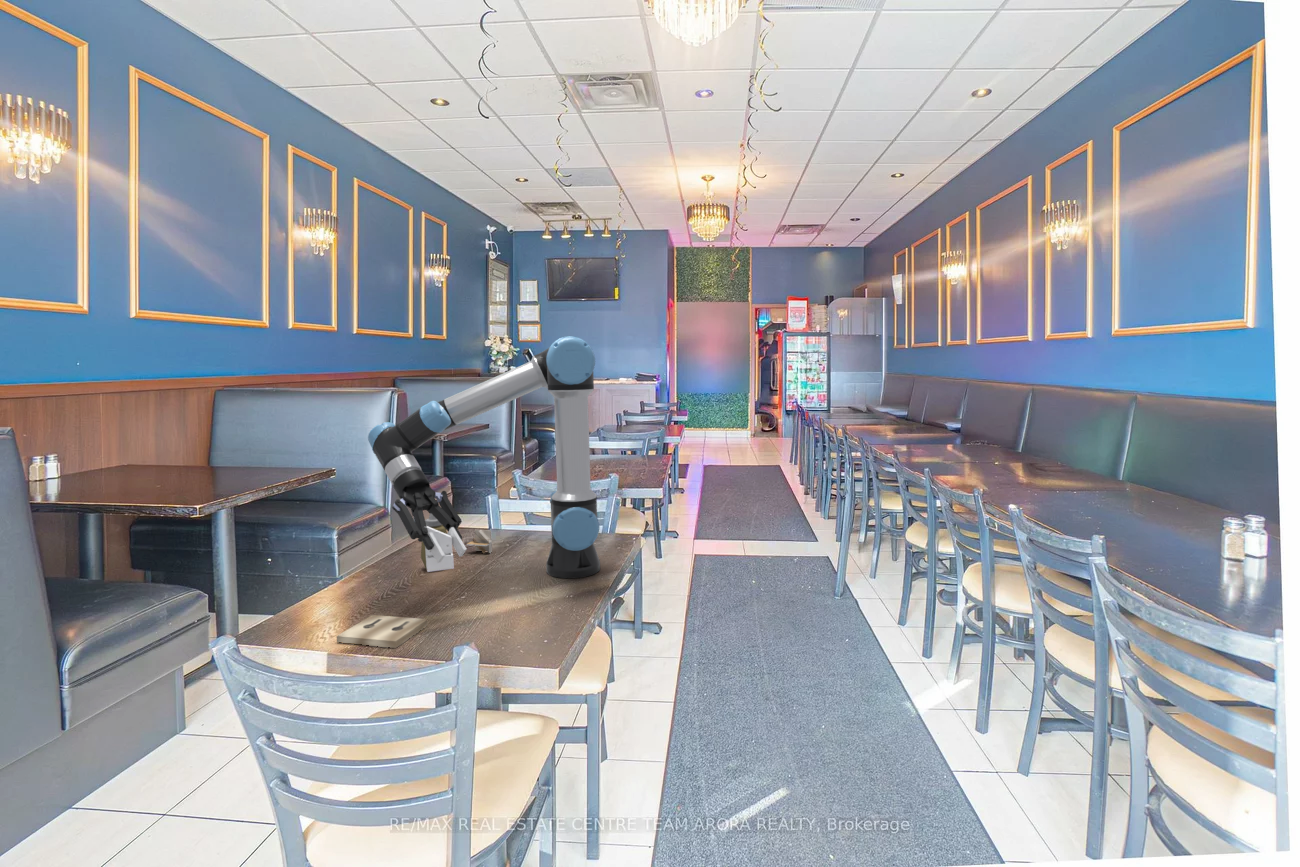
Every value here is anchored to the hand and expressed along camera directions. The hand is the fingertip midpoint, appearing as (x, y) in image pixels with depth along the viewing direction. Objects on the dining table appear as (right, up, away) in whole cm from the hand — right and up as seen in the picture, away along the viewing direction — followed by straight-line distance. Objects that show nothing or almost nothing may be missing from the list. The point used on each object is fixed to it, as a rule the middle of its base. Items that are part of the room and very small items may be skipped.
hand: (452, 555), depth 149 cm
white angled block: (-3, -3, +2) cm, 5 cm away
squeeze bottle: (-17, -11, +41) cm, 45 cm away
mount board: (-13, -16, -6) cm, 21 cm away
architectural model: (-7, -10, +56) cm, 57 cm away
